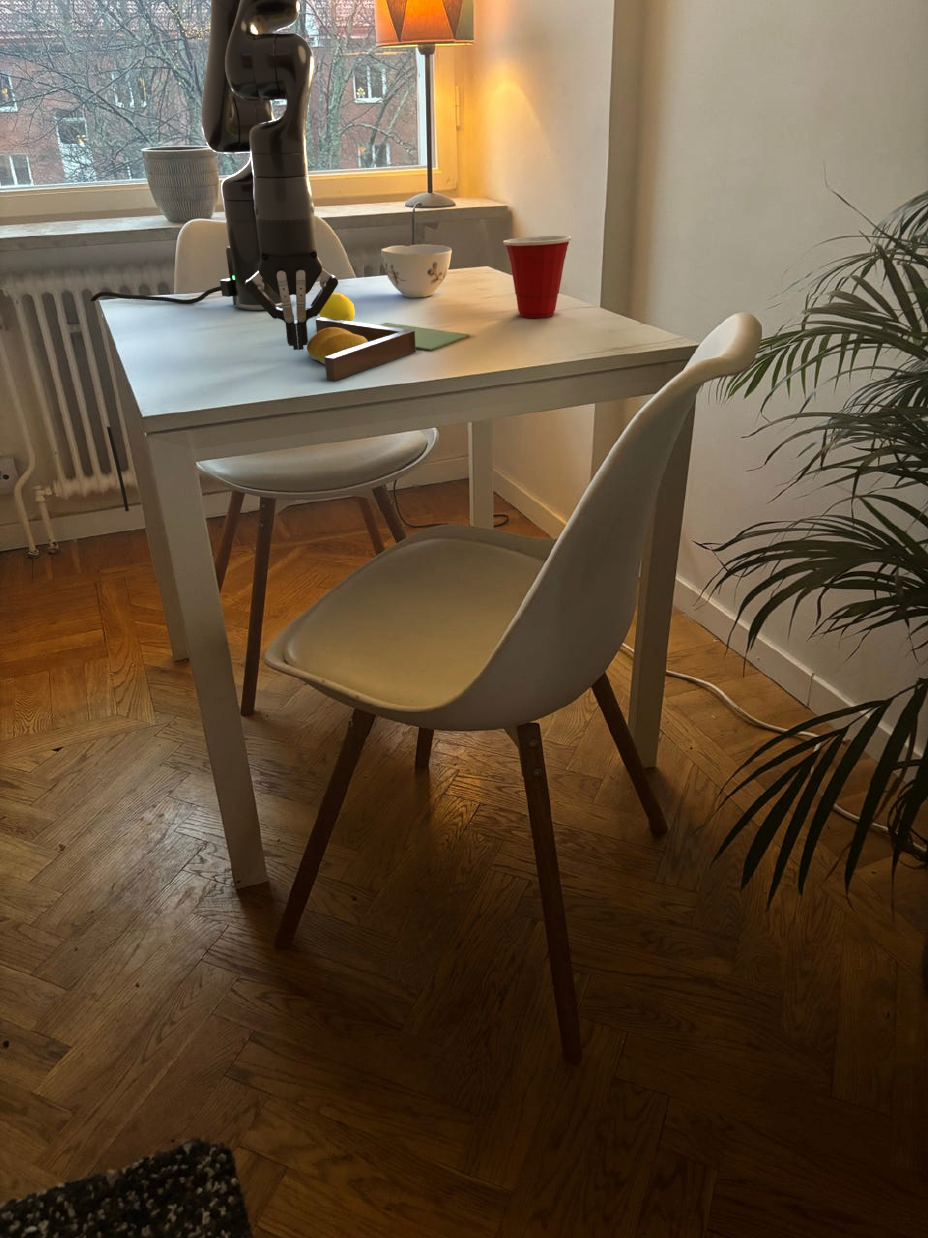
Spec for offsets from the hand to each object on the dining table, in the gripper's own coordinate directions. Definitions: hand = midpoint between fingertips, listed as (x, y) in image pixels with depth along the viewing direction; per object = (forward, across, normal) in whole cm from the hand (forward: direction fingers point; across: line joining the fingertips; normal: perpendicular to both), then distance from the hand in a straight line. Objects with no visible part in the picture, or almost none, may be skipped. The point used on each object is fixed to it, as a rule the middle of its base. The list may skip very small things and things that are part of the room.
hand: (298, 348), depth 130 cm
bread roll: (+2, -6, 0) cm, 6 cm away
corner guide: (+2, -4, 0) cm, 4 cm away
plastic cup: (+1, -39, -20) cm, 44 cm away
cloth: (+1, -16, -10) cm, 19 cm away
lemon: (+2, -6, -18) cm, 19 cm away
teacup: (+1, -22, -42) cm, 48 cm away
